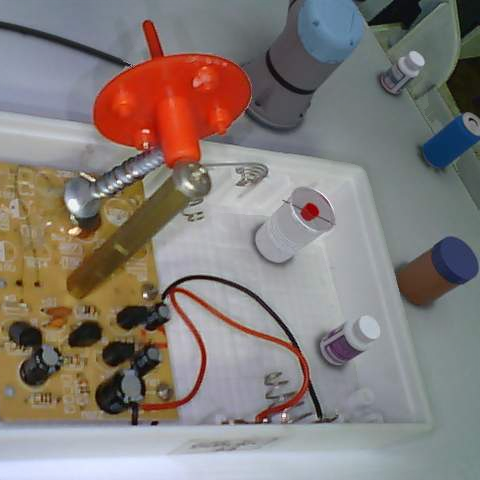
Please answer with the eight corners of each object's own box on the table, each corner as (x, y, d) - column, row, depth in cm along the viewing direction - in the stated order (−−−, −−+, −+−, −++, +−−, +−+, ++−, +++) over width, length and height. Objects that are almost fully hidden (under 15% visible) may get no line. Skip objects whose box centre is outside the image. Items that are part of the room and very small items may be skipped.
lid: (438, 282, 133) (448, 276, 131) (426, 239, 137) (435, 233, 135) (474, 287, 136) (484, 281, 135) (461, 245, 141) (470, 239, 139)
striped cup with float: (299, 235, 137) (340, 200, 128) (295, 275, 132) (338, 242, 123) (250, 213, 135) (288, 176, 125) (244, 253, 130) (284, 217, 120)
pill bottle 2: (398, 80, 174) (426, 54, 167) (400, 97, 171) (429, 71, 164) (379, 71, 173) (406, 44, 166) (381, 89, 170) (408, 62, 163)
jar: (402, 303, 140) (446, 276, 132) (392, 264, 144) (434, 235, 136) (436, 308, 144) (481, 282, 135) (425, 269, 147) (468, 241, 139)
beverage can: (445, 154, 168) (487, 121, 159) (443, 175, 164) (486, 142, 155) (421, 139, 167) (462, 105, 158) (418, 160, 163) (460, 126, 154)
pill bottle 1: (349, 367, 128) (387, 345, 120) (322, 364, 125) (359, 342, 118) (342, 336, 130) (380, 313, 123) (316, 333, 128) (352, 309, 121)
